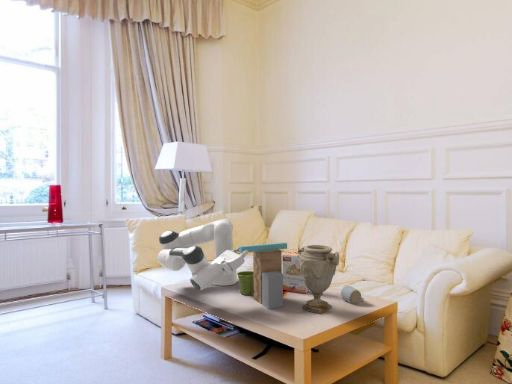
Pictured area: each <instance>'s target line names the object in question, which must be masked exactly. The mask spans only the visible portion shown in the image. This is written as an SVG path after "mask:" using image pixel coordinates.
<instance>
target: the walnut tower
mask: <svg viewBox="0 0 512 384" xmlns="http://www.w3.org/2000/svg"><path fill="white" fill-rule="evenodd" d="M282 254H283V253H282V249H279V250H268V251H258V252H252V259H253V261H252V262H253V263H252V265H253V267H252V268H253V277H254V294H253V300H255V301H256V302H258V303H259V304H260V305H262V273H265V272H273V271H277V272H279V273H281V274H283V269H282Z"/></svg>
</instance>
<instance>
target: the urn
mask: <svg viewBox="0 0 512 384" xmlns="http://www.w3.org/2000/svg"><path fill="white" fill-rule="evenodd" d="M297 250H298V251H297V254H299V255H298V256H299V265H300V272H301V274H302V276H303V279H304V283H305V285H306V287H307V288H308V289H309V291H310V292H311V294H312V296H313V298H312V299H309V300H307V301H306V302H305V303H303V304H301V305H302V306H301V307H302V309H303V310H306V311H308V312H311V313H314V314H318V315H319V314H323V313H326V312H329V311H331V310H332V309H333V306H332V305H331V304H330V303H328V301H325V300H324V299H321V297H322V296H323V293H324V292H326V290H328V289H329V288H330V286H331V284H332V282H333V281H332V280H333V278H334V276H335V275H336V272H337V271H336V269H337V267H338V266H339V264H340V263H339V261H340V253H339V252H338V251H335V252H334V253H333V252H332V251H333V248H332V247H330V246H328V245H321V244H309V245H306V246H302V247H301V248H298V249H297Z"/></svg>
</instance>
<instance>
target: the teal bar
mask: <svg viewBox="0 0 512 384" xmlns="http://www.w3.org/2000/svg"><path fill="white" fill-rule="evenodd" d="M238 247H239V252H238V253H240V254H242V253H243V251H245V250H247V251H248V253H253V252H258V251H268V250H288V243H287V242H273V243H272V242H271V243H262V244H261V243H260V244H250V245H249V244H248V245H239V246H238Z"/></svg>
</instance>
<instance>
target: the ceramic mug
mask: <svg viewBox="0 0 512 384" xmlns="http://www.w3.org/2000/svg"><path fill="white" fill-rule="evenodd" d="M340 296H341V298H342V300H344V301H345V302H348V303H350V304H353V305H355V304H358V303H359V302H364V300H365V298H364V297H362V293H361V291H359V290H358V289H357V288H354V287H352V286H351V285H347V284H346V285H344V286H343V287H342V288H341V291H340Z"/></svg>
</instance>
